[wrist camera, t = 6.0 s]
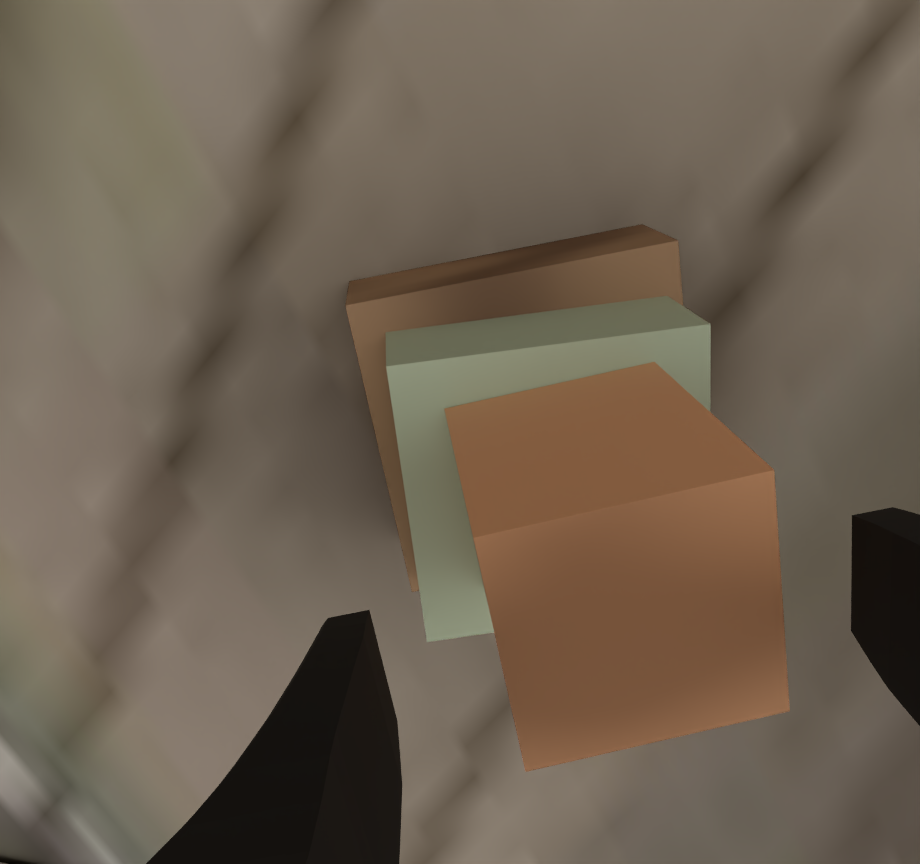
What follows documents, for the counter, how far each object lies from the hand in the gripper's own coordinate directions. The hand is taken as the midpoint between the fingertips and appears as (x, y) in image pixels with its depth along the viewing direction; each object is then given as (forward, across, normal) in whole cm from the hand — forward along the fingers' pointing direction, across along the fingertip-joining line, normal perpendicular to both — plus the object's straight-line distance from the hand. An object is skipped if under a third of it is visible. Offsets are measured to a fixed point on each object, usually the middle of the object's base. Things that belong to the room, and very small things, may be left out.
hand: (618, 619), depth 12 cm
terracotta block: (+4, 0, 0) cm, 4 cm away
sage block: (+7, 0, 0) cm, 7 cm away
